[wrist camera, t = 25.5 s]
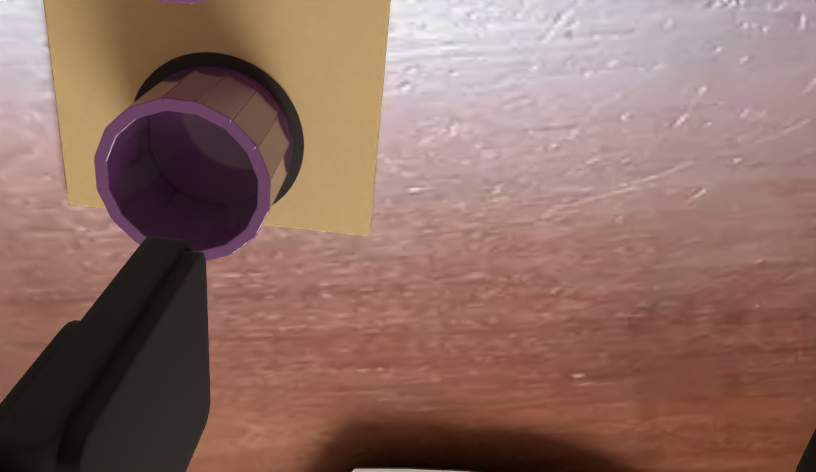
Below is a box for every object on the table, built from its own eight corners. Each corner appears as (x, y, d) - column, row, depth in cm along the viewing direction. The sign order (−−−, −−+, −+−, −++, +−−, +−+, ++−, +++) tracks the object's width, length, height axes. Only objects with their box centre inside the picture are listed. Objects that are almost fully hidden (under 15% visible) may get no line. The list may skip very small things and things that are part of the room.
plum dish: (138, 55, 30) (87, 87, 26) (296, 74, 30) (272, 111, 26) (146, 199, 33) (101, 250, 29) (290, 216, 33) (267, 270, 29)
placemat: (16, -260, 26) (8, -262, 25) (409, -215, 26) (408, -216, 25) (72, 200, 34) (67, 205, 33) (370, 232, 34) (369, 237, 34)
